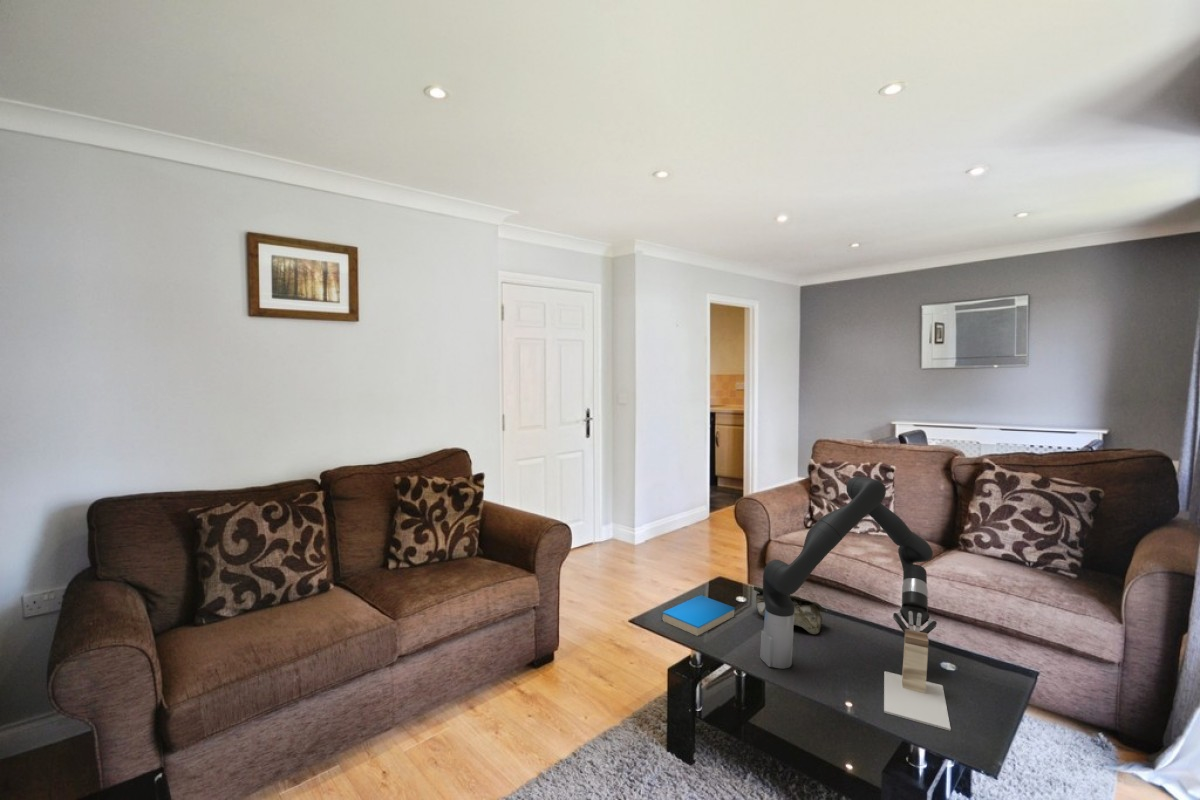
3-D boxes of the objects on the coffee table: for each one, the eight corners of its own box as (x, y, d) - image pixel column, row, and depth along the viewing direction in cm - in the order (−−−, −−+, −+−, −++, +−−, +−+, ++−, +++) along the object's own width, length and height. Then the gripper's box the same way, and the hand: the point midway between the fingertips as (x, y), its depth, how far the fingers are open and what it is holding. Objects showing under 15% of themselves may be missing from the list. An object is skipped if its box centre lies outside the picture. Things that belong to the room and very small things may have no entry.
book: (735, 607, 216) (699, 626, 198) (735, 618, 216) (698, 638, 198) (699, 594, 228) (661, 610, 210) (698, 604, 228) (660, 621, 210)
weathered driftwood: (751, 623, 221) (739, 604, 213) (761, 595, 228) (750, 575, 219) (822, 645, 202) (812, 625, 194) (831, 614, 209) (822, 593, 201)
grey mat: (950, 730, 149) (950, 728, 149) (884, 712, 156) (884, 710, 156) (942, 687, 170) (942, 685, 170) (884, 672, 177) (884, 671, 177)
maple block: (925, 693, 165) (928, 641, 164) (902, 687, 168) (905, 636, 167) (924, 683, 171) (927, 633, 170) (902, 678, 173) (905, 628, 173)
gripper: (893, 586, 186) (891, 636, 176) (938, 594, 180) (939, 647, 170) (891, 596, 191) (890, 645, 181) (936, 604, 185) (937, 656, 175)
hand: (914, 646), depth 175 cm, fingers closed
